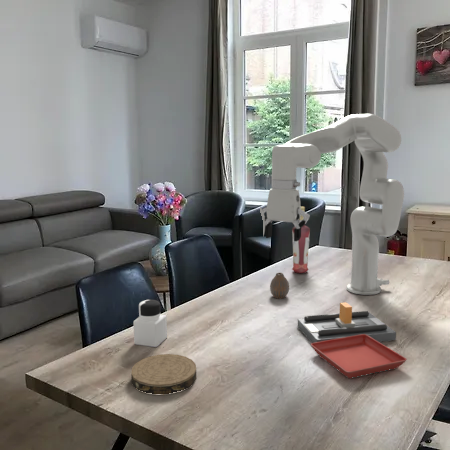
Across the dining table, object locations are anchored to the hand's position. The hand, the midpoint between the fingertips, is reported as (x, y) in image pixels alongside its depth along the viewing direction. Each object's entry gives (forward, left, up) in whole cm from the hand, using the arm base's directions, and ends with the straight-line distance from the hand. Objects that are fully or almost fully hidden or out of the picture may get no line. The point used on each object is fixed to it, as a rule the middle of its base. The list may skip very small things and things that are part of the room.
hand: (282, 238), depth 159 cm
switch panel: (-14, +18, -26) cm, 34 cm away
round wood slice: (+41, +34, -26) cm, 59 cm away
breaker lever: (-14, +18, -23) cm, 32 cm away
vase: (-5, -18, -26) cm, 32 cm away
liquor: (-23, -46, -26) cm, 58 cm away
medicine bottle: (+43, +11, -26) cm, 51 cm away
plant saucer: (-9, +36, -26) cm, 45 cm away
